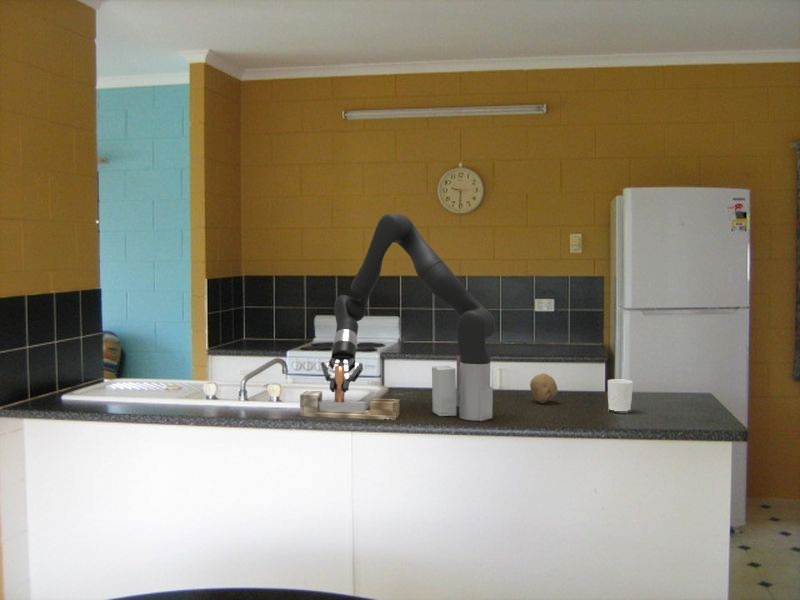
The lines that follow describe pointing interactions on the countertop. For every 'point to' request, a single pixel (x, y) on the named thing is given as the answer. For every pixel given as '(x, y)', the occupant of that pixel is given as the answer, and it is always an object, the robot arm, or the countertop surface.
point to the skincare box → (444, 390)
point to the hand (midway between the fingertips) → (338, 390)
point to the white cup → (620, 394)
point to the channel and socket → (377, 411)
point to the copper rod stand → (341, 397)
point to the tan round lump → (543, 387)
